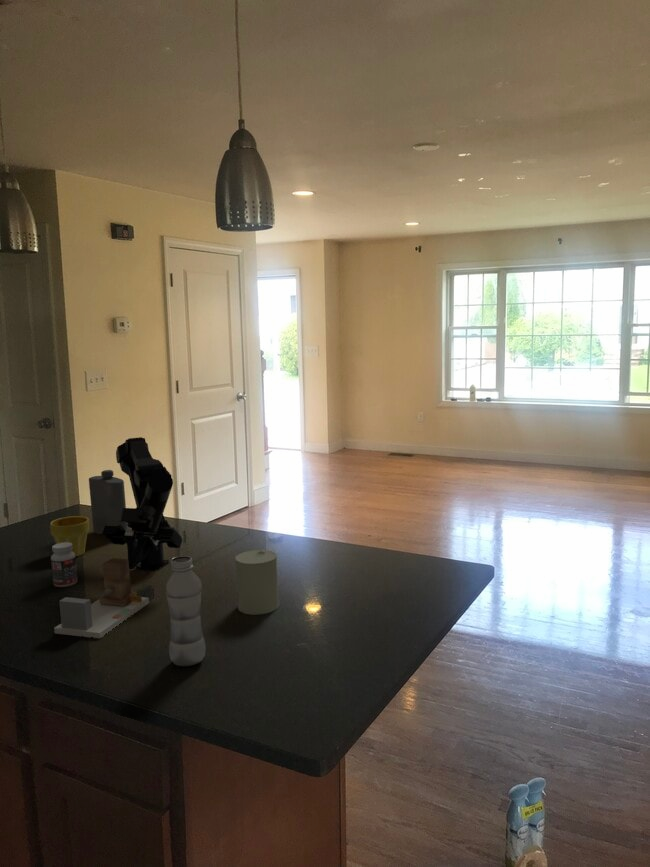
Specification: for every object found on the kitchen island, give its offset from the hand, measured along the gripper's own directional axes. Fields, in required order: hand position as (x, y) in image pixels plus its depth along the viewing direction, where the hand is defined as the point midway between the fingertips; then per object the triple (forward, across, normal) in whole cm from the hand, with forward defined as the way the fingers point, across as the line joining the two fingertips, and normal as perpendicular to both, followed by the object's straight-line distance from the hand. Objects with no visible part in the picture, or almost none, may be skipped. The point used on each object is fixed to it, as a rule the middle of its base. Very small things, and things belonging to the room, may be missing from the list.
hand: (130, 568), depth 157 cm
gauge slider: (+8, +1, 0) cm, 8 cm away
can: (+4, +31, +6) cm, 32 cm away
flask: (-26, -35, +36) cm, 57 cm away
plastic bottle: (+23, +28, -13) cm, 38 cm away
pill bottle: (+2, -22, +9) cm, 24 cm away
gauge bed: (+13, 0, -3) cm, 13 cm away
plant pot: (-13, -35, +23) cm, 44 cm away
